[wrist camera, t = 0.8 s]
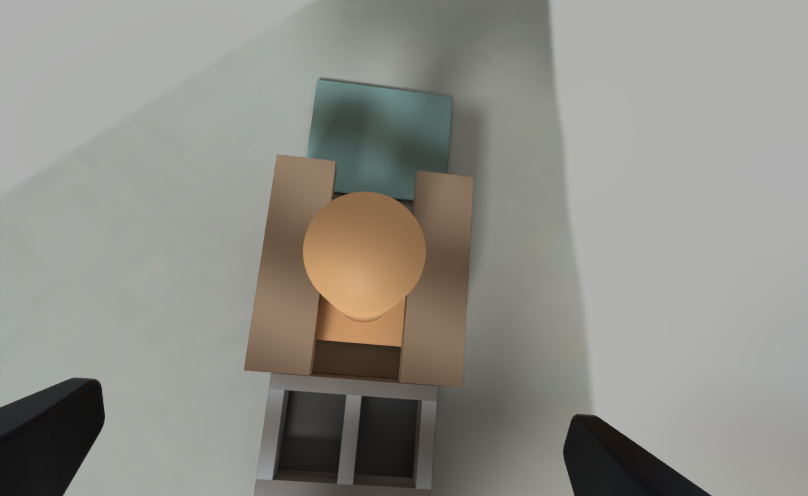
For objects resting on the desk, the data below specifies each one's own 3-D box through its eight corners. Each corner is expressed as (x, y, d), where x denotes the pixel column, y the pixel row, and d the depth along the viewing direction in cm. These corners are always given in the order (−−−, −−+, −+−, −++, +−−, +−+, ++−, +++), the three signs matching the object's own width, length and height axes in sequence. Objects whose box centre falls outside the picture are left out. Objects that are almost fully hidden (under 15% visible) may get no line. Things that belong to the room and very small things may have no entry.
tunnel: (429, 492, 24) (453, 548, 18) (257, 482, 24) (218, 537, 17) (455, 99, 29) (481, 35, 23) (313, 81, 29) (299, 9, 22)
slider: (411, 345, 25) (480, 365, 10) (307, 337, 25) (222, 343, 10) (417, 261, 26) (489, 168, 11) (318, 251, 26) (256, 141, 11)
